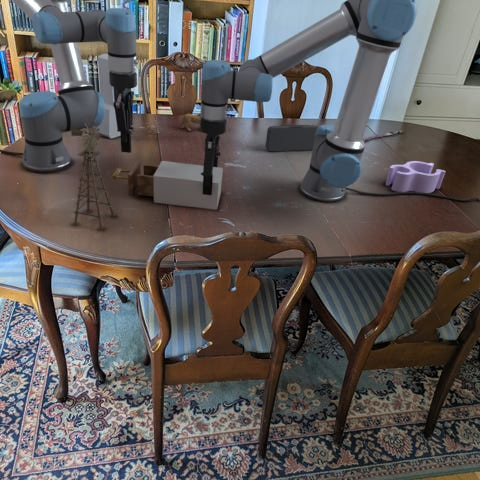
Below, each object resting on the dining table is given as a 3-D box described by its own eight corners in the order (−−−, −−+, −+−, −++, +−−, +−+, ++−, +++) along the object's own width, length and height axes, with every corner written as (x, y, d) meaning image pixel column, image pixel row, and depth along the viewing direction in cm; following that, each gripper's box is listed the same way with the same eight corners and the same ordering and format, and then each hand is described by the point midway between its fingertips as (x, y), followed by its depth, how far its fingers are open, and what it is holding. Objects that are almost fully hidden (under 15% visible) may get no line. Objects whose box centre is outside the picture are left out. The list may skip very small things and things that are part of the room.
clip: (398, 195, 164) (404, 177, 160) (379, 179, 174) (383, 162, 170) (444, 191, 170) (450, 174, 166) (423, 176, 180) (428, 160, 176)
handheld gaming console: (315, 147, 196) (319, 124, 190) (317, 149, 194) (322, 126, 188) (264, 149, 189) (267, 125, 183) (266, 152, 187) (269, 127, 181)
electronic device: (109, 139, 182) (104, 59, 166) (96, 134, 185) (89, 55, 169) (132, 131, 192) (129, 55, 175) (118, 127, 195) (114, 51, 178)
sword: (399, 131, 224) (400, 128, 223) (404, 133, 222) (405, 130, 221) (355, 142, 208) (356, 139, 207) (360, 144, 206) (361, 142, 205)
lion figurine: (209, 126, 205) (210, 106, 200) (212, 130, 201) (214, 110, 196) (176, 127, 200) (177, 107, 195) (179, 132, 196) (180, 111, 191)
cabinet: (153, 202, 144) (153, 175, 139) (161, 186, 154) (161, 160, 149) (216, 209, 144) (218, 183, 139) (220, 193, 153) (222, 167, 148)
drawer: (110, 193, 144) (108, 172, 140) (119, 179, 153) (118, 159, 149) (187, 202, 144) (188, 181, 140) (192, 188, 152) (193, 168, 148)
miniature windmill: (101, 230, 128) (92, 124, 112) (72, 224, 129) (59, 119, 113) (115, 214, 135) (109, 113, 119) (88, 209, 136) (78, 108, 120)
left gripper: (130, 78, 123) (132, 161, 136) (142, 67, 134) (143, 145, 147) (101, 75, 123) (107, 158, 136) (116, 64, 134) (120, 142, 147)
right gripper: (222, 134, 123) (217, 204, 135) (230, 106, 144) (225, 169, 156) (194, 131, 124) (191, 201, 135) (206, 104, 145) (203, 167, 156)
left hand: (126, 151), depth 141 cm, fingers closed
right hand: (210, 184), depth 145 cm, fingers open, 13 cm apart
